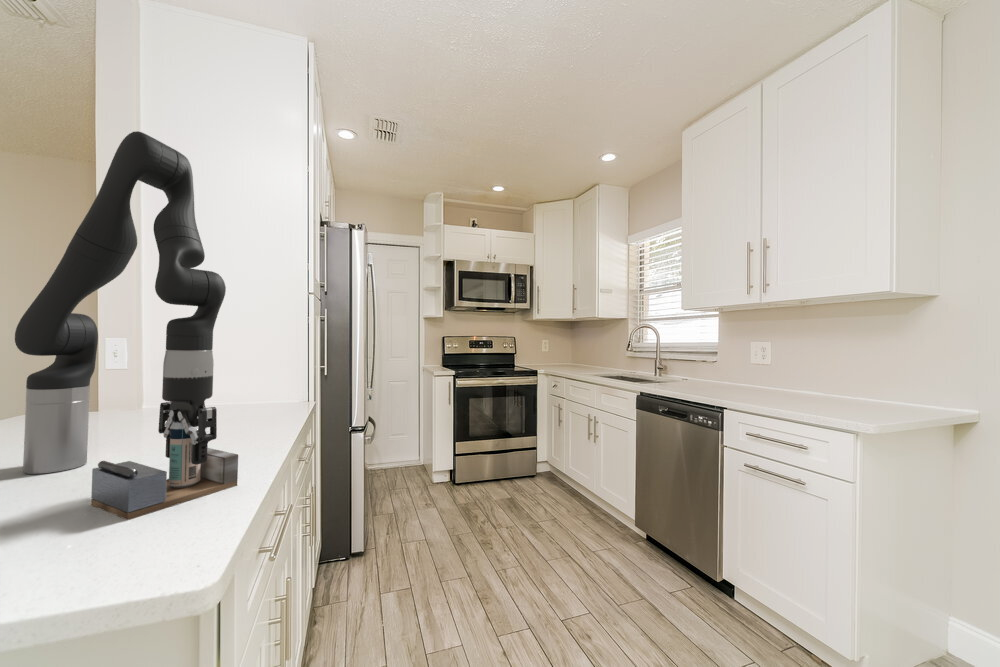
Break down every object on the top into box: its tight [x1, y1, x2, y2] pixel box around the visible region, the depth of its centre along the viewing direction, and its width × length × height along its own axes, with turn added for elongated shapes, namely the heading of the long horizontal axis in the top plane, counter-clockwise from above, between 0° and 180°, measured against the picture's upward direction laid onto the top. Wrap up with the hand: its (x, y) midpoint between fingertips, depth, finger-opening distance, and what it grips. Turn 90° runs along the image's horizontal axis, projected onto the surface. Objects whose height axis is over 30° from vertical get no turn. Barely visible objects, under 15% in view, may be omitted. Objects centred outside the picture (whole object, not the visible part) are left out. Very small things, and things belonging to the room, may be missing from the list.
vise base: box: [90, 447, 239, 521], centre depth 73 cm, size 12×17×6 cm
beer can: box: [168, 421, 201, 488], centre depth 76 cm, size 5×5×12 cm
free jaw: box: [90, 460, 168, 513], centre depth 68 cm, size 12×5×6 cm, turn 65°
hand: (185, 460), depth 76 cm, fingers open, 8 cm apart
